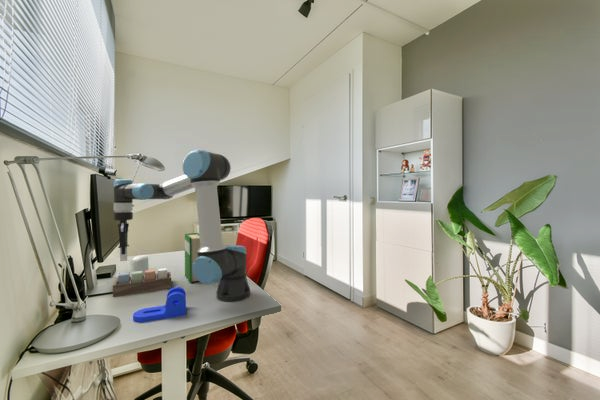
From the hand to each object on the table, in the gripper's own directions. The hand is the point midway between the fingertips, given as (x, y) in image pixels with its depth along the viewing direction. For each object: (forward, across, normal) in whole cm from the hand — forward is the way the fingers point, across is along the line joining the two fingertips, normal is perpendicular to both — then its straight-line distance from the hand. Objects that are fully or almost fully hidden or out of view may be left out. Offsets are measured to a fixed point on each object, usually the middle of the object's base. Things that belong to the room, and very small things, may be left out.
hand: (123, 260), depth 128 cm
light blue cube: (+10, 0, 0) cm, 10 cm away
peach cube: (+10, 0, -11) cm, 15 cm away
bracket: (+15, -37, -16) cm, 43 cm away
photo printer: (+15, +21, -5) cm, 26 cm away
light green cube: (+10, 0, -6) cm, 12 cm away
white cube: (+10, 0, -17) cm, 20 cm away
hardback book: (+15, +6, -32) cm, 36 cm away
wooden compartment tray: (+15, 0, -8) cm, 17 cm away
